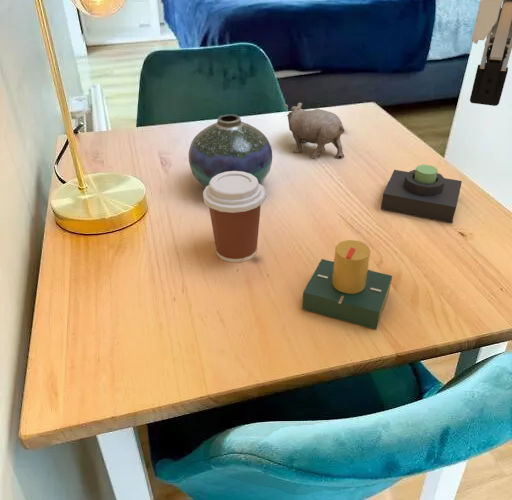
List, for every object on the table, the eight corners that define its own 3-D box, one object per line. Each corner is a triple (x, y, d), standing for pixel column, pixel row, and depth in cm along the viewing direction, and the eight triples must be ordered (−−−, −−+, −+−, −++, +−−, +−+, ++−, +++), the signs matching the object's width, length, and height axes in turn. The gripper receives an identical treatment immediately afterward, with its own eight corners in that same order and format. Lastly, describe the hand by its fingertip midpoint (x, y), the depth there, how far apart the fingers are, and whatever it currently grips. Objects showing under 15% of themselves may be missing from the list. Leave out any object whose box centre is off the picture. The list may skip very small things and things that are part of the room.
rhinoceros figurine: (330, 159, 99) (307, 86, 99) (289, 177, 111) (268, 111, 110) (357, 152, 104) (335, 82, 103) (315, 170, 115) (295, 106, 114)
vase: (268, 166, 103) (269, 102, 95) (275, 204, 91) (276, 133, 83) (193, 169, 102) (187, 104, 95) (189, 207, 90) (182, 136, 82)
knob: (337, 270, 70) (341, 235, 66) (369, 277, 68) (374, 242, 65) (327, 288, 66) (331, 252, 63) (360, 297, 65) (365, 261, 61)
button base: (458, 196, 92) (464, 171, 89) (452, 223, 85) (458, 197, 82) (391, 184, 96) (395, 160, 93) (380, 209, 89) (384, 184, 86)
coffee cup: (265, 267, 75) (265, 197, 68) (204, 267, 75) (198, 197, 68) (265, 234, 83) (265, 167, 76) (209, 234, 83) (204, 167, 76)
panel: (389, 291, 70) (393, 273, 69) (376, 331, 64) (379, 312, 62) (320, 274, 74) (322, 256, 72) (301, 310, 67) (302, 292, 66)
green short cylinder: (436, 177, 89) (439, 166, 87) (434, 186, 86) (436, 175, 85) (415, 173, 90) (417, 163, 89) (412, 182, 87) (414, 171, 86)
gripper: (493, -86, 56) (457, 81, 67) (485, -81, 45) (443, 119, 55) (569, -86, 54) (519, 87, 64) (580, -80, 42) (517, 129, 53)
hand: (484, 102), depth 60 cm, fingers closed
